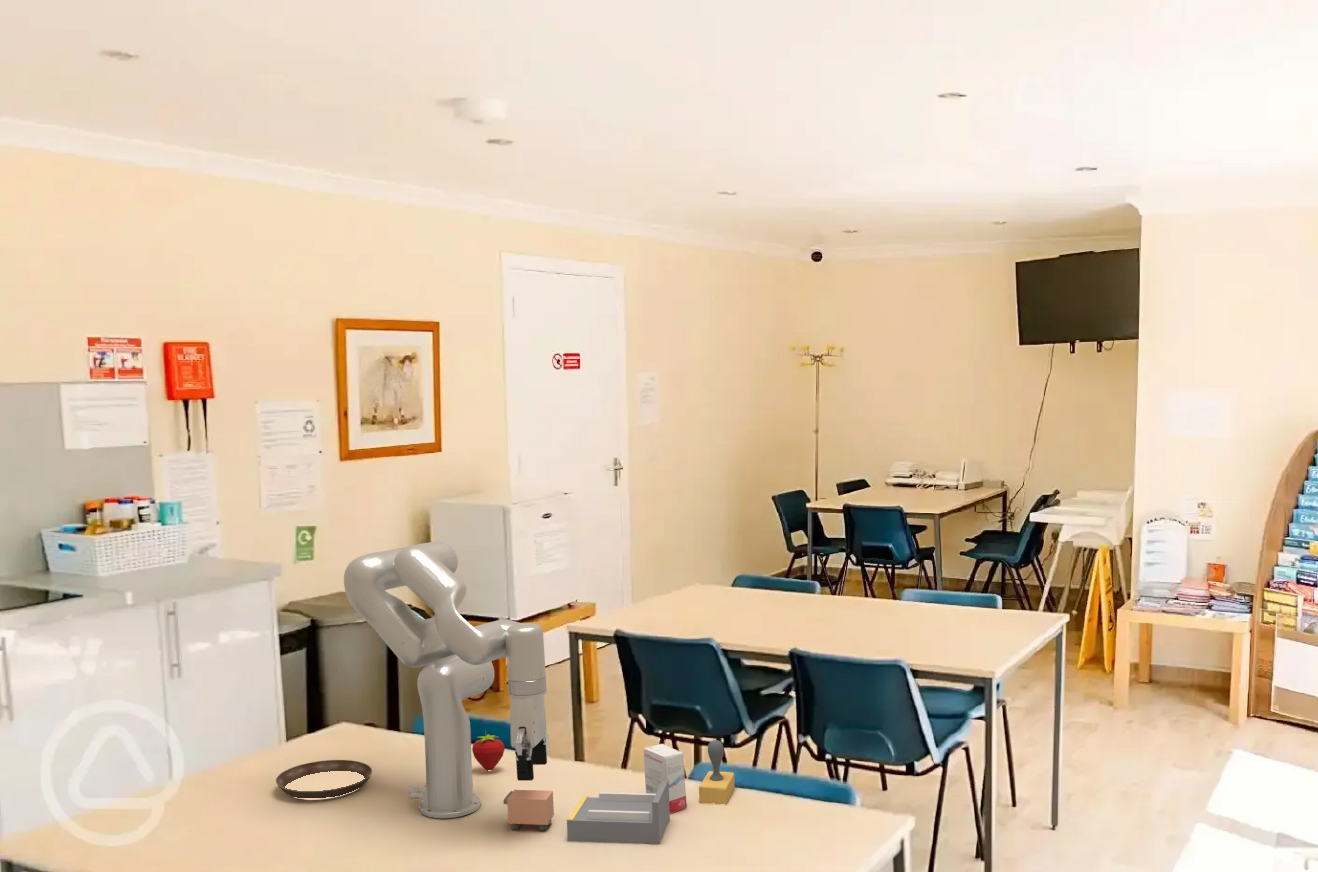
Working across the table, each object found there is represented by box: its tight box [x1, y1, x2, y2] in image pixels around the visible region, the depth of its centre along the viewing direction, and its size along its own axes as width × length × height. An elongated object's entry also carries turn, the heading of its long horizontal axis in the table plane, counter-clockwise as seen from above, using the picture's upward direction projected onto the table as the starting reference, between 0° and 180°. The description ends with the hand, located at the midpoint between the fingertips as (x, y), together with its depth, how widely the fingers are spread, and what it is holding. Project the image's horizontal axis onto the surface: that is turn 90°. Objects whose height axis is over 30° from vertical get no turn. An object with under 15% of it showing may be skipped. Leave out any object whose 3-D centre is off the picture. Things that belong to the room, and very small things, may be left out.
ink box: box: [643, 743, 688, 814], centre depth 235 cm, size 9×5×12 cm, turn 33°
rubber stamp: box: [698, 739, 736, 805], centre depth 240 cm, size 10×6×12 cm, turn 166°
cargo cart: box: [502, 789, 555, 832], centre depth 226 cm, size 9×5×6 cm, turn 81°
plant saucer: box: [275, 759, 373, 798], centre depth 253 cm, size 21×21×3 cm
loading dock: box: [566, 780, 671, 845], centre depth 223 cm, size 18×13×8 cm
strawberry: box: [471, 729, 505, 772], centre depth 260 cm, size 6×8×10 cm
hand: (532, 772), depth 225 cm, fingers open, 9 cm apart
